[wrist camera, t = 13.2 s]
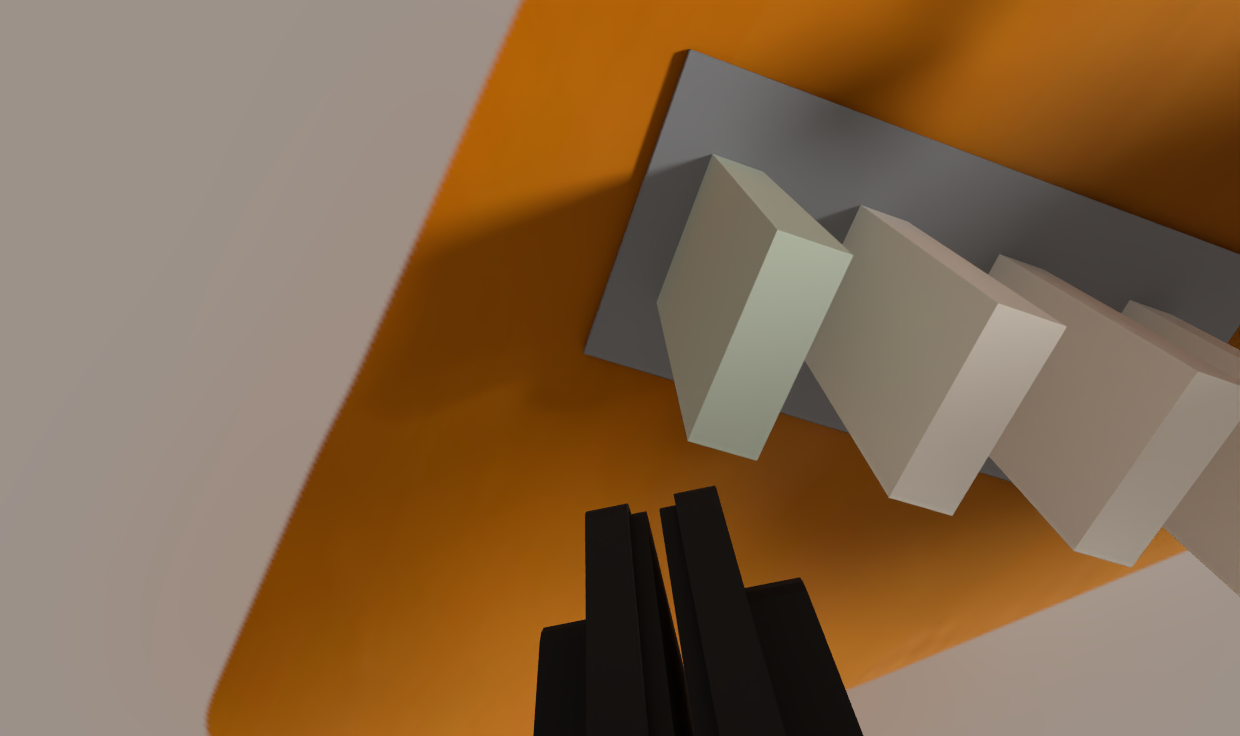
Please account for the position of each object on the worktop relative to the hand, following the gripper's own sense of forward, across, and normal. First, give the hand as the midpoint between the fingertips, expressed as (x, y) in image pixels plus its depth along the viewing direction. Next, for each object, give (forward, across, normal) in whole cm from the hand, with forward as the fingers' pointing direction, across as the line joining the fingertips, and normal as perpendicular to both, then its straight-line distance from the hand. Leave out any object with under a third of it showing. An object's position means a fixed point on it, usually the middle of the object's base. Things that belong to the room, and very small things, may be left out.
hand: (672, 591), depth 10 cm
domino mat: (+22, -11, +7) cm, 25 cm away
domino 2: (+21, -8, +5) cm, 23 cm away
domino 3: (+21, -14, +8) cm, 26 cm away
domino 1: (+21, -3, +2) cm, 21 cm away
